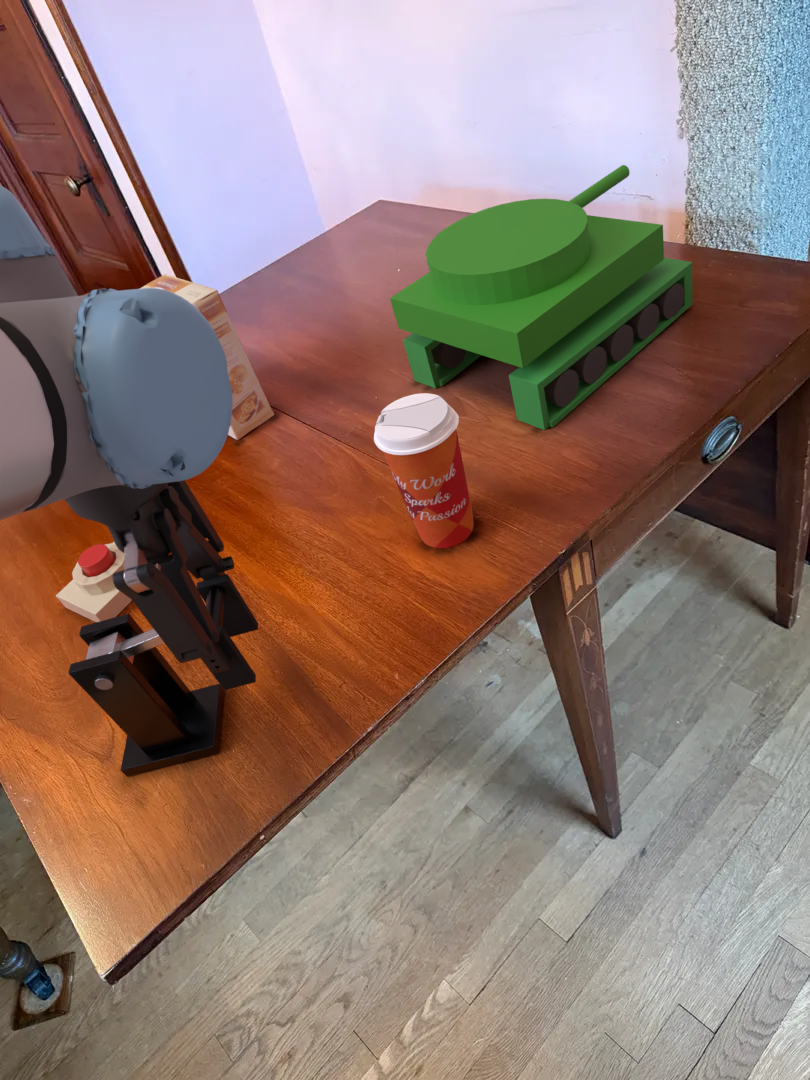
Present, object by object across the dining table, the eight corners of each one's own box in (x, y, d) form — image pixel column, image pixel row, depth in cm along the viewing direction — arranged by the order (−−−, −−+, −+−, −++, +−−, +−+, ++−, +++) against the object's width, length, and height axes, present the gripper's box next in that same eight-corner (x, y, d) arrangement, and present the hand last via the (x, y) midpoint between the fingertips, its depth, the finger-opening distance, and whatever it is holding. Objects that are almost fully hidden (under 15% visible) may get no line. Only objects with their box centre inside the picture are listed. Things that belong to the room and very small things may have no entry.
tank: (719, 289, 100) (722, 162, 89) (547, 431, 87) (526, 305, 77) (575, 263, 116) (562, 153, 105) (413, 380, 104) (380, 269, 93)
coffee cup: (402, 557, 79) (359, 445, 69) (418, 504, 84) (381, 393, 74) (479, 555, 76) (446, 439, 66) (491, 500, 81) (462, 385, 71)
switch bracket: (224, 690, 72) (156, 597, 63) (219, 753, 67) (143, 662, 58) (138, 712, 73) (58, 624, 64) (126, 777, 68) (37, 690, 59)
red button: (98, 580, 84) (89, 570, 83) (80, 572, 86) (71, 562, 85) (121, 558, 86) (113, 547, 84) (103, 551, 88) (95, 540, 86)
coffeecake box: (276, 414, 107) (218, 288, 94) (237, 442, 104) (172, 316, 91) (224, 389, 117) (165, 271, 104) (187, 413, 114) (122, 296, 101)
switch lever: (232, 596, 62) (215, 579, 61) (228, 642, 59) (210, 624, 57) (111, 646, 65) (93, 630, 63) (100, 693, 61) (80, 677, 60)
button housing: (105, 627, 83) (86, 604, 81) (65, 607, 88) (46, 585, 85) (167, 565, 88) (151, 541, 86) (127, 549, 93) (110, 526, 90)
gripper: (127, 514, 41) (282, 735, 57) (167, 357, 55) (284, 570, 70) (3, 550, 42) (190, 759, 57) (73, 386, 55) (209, 591, 71)
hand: (241, 655), depth 64 cm, fingers closed on switch lever, 5 cm apart
